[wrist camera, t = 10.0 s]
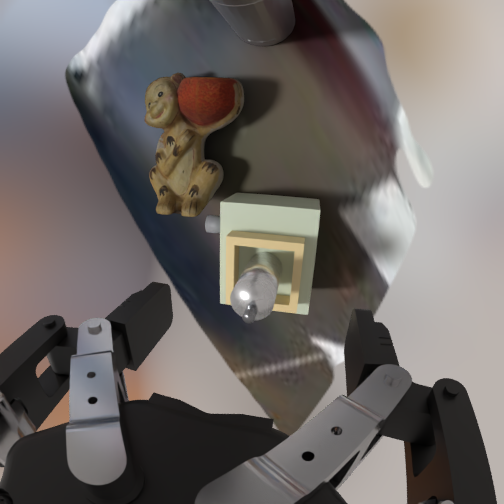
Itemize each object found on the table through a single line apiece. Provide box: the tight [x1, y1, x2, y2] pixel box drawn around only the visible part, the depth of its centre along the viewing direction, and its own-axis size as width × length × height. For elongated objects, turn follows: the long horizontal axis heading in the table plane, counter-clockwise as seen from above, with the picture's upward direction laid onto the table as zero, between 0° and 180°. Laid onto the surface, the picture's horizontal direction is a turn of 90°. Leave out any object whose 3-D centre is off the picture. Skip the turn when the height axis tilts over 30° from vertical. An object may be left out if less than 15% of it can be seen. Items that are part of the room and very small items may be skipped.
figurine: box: [145, 73, 244, 217], centre depth 39 cm, size 15×9×20 cm
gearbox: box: [205, 193, 320, 315], centre depth 40 cm, size 14×15×10 cm
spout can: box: [230, 252, 282, 323], centre depth 33 cm, size 4×4×11 cm
